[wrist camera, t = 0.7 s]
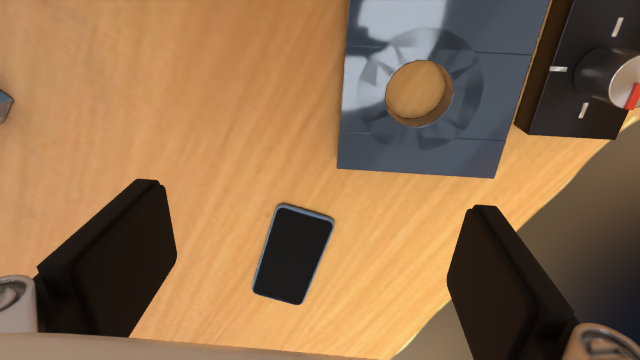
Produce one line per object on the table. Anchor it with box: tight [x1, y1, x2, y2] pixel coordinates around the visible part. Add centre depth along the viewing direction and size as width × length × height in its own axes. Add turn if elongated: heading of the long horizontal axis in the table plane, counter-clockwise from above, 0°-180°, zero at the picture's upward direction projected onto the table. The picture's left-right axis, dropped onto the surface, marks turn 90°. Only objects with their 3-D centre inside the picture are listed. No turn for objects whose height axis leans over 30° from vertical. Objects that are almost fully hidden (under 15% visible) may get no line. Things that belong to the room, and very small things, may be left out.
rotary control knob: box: [574, 46, 640, 110], centre depth 27 cm, size 4×4×5 cm
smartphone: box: [252, 204, 334, 305], centre depth 44 cm, size 7×1×15 cm
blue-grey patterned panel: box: [337, 0, 550, 179], centre depth 32 cm, size 18×16×2 cm
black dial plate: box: [514, 0, 640, 140], centre depth 30 cm, size 12×8×3 cm
